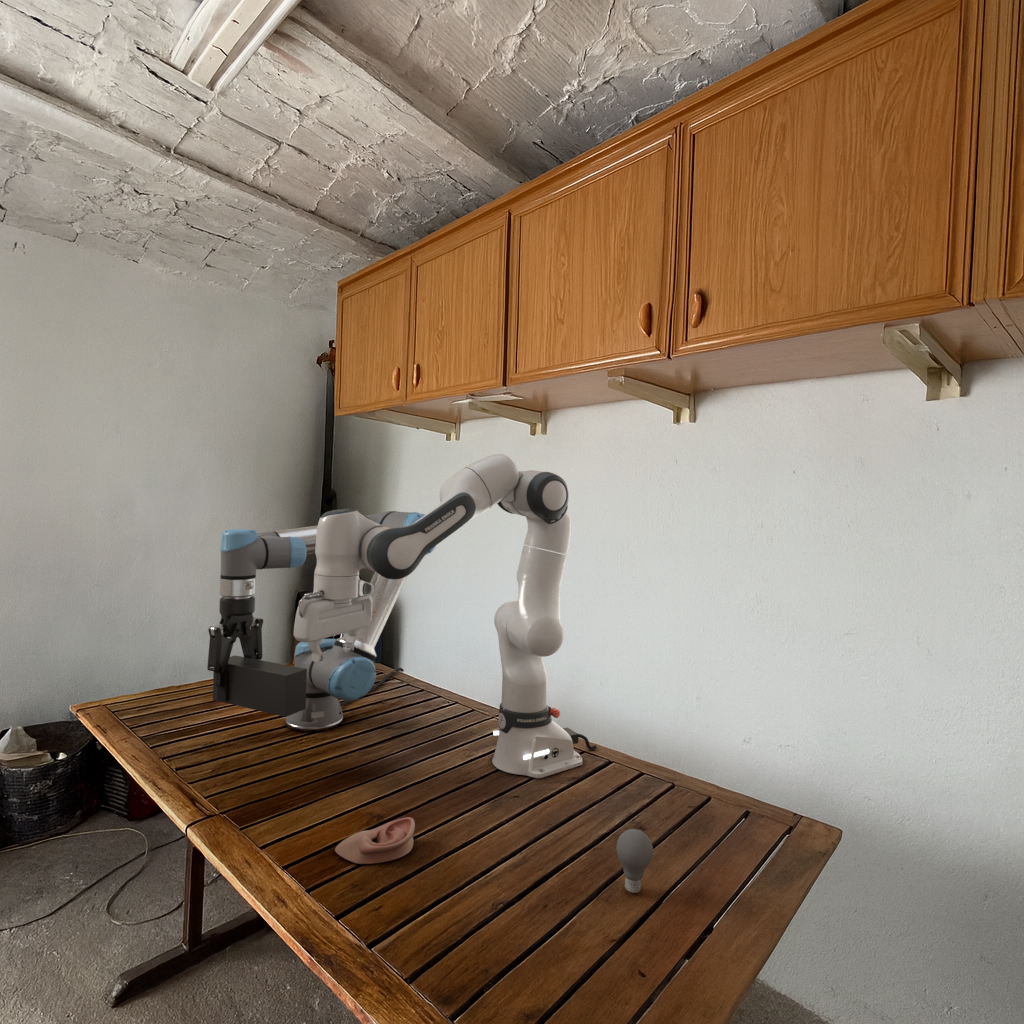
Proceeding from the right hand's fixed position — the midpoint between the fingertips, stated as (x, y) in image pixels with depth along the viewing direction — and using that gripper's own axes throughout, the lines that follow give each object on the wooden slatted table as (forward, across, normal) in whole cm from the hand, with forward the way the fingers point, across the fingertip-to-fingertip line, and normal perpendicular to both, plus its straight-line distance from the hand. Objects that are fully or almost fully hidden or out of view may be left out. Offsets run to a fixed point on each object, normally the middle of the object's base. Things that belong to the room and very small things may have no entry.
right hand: (333, 656), depth 129 cm
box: (+15, +5, +24) cm, 29 cm away
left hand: (+15, +5, +32) cm, 35 cm away
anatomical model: (+31, -8, -18) cm, 37 cm away
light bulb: (+31, +1, -63) cm, 70 cm away
